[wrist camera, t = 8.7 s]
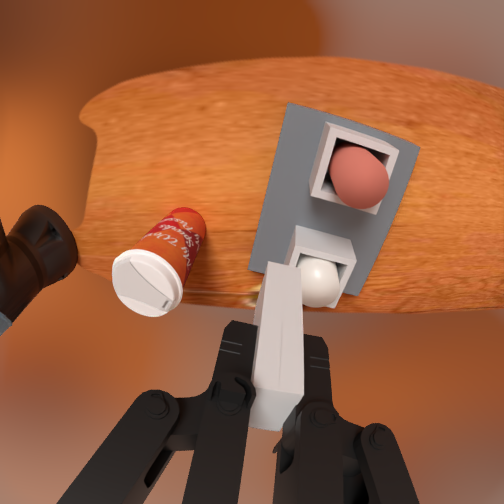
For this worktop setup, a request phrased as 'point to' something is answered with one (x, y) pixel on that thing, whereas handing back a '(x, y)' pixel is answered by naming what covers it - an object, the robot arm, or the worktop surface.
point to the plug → (318, 280)
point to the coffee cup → (159, 264)
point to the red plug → (357, 175)
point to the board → (327, 197)
